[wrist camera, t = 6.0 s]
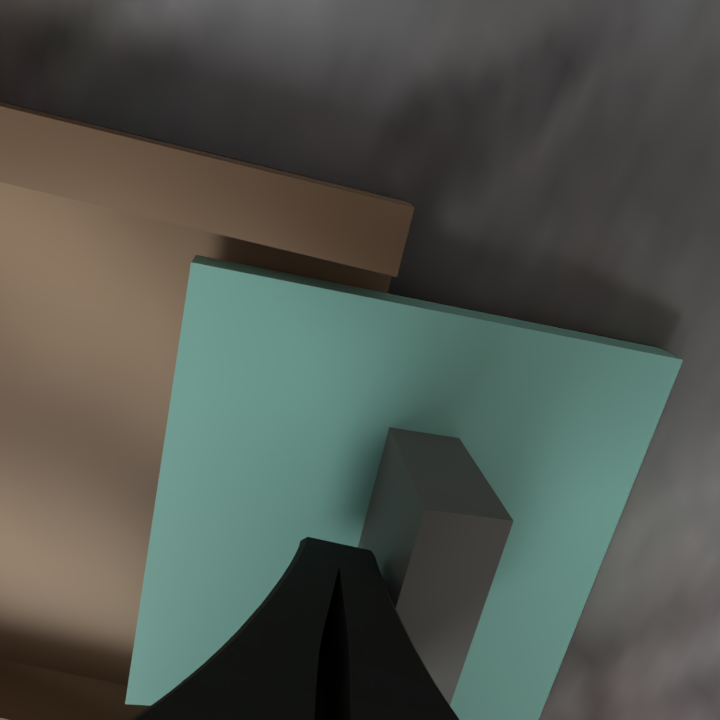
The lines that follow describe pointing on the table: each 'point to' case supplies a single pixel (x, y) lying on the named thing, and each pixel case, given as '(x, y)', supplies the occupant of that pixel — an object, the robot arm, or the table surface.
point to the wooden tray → (120, 368)
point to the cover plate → (391, 473)
